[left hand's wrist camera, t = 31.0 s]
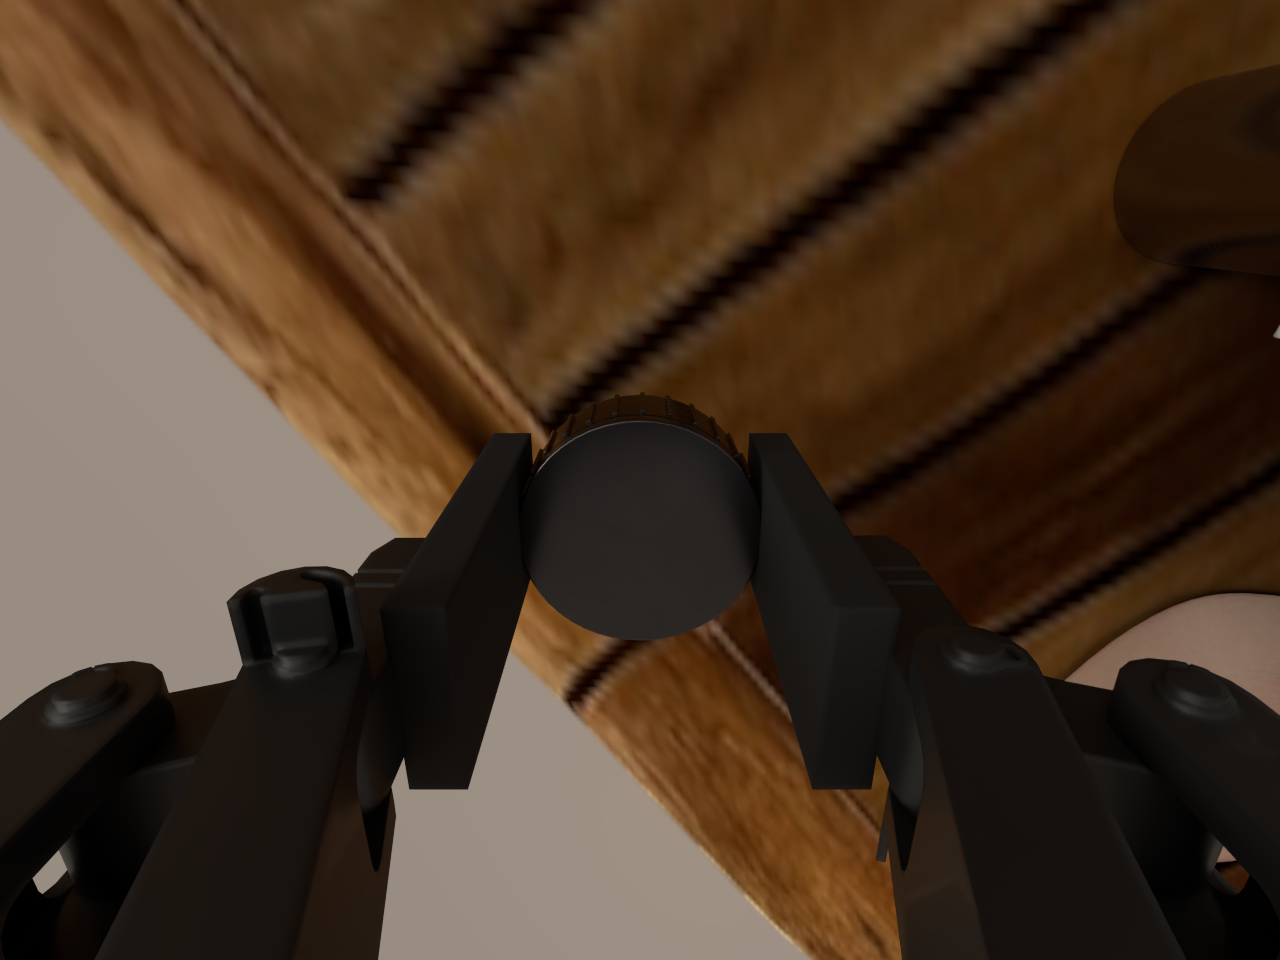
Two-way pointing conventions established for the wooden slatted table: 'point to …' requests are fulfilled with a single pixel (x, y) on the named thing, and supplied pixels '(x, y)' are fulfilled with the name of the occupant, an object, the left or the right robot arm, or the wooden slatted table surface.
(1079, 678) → the anatomical model
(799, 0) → the wooden slatted table surface
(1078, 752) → the left robot arm
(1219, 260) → the bottle
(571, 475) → the cap
